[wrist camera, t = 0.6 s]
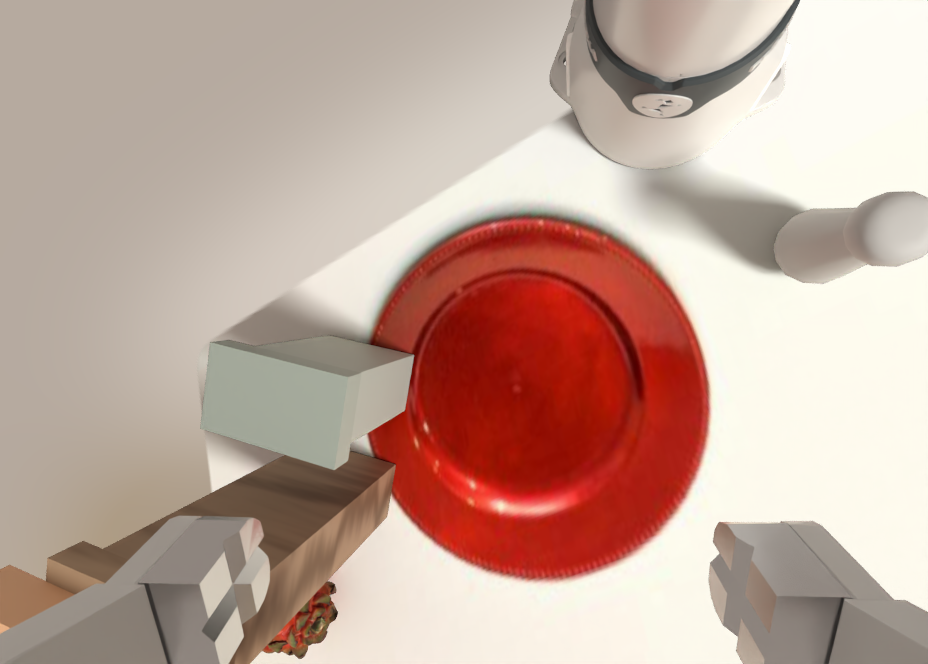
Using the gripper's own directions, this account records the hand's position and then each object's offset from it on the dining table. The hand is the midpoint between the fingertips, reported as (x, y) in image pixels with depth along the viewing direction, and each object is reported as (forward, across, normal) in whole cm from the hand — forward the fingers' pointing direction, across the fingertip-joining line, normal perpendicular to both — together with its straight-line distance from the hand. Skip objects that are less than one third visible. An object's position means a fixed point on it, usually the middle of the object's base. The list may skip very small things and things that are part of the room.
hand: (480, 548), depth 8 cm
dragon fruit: (+35, +22, +38) cm, 56 cm away
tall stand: (+37, +16, +24) cm, 47 cm away
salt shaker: (+34, -26, 0) cm, 43 cm away
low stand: (+39, +14, +12) cm, 43 cm away
